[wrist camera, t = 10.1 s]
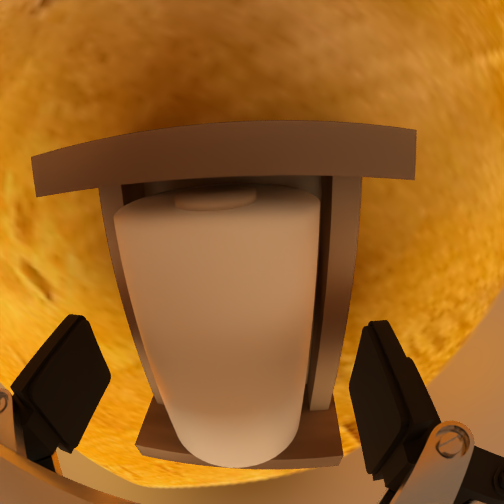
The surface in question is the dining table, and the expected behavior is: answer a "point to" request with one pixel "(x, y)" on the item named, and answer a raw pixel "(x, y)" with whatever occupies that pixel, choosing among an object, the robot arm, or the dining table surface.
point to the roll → (225, 311)
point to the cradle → (259, 172)
